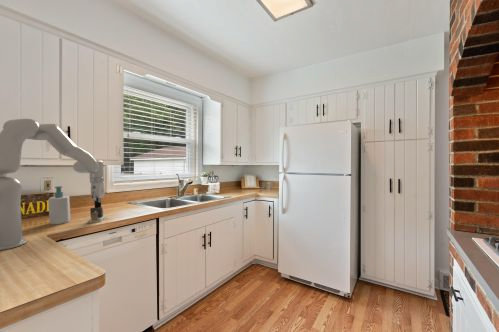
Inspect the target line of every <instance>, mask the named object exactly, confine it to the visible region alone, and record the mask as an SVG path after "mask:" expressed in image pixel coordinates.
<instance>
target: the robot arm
mask: <svg viewBox="0 0 499 332" xmlns="http://www.w3.org/2000/svg"><path fill="white" fill-rule="evenodd" d="M2 125H3V126H2V130H1V131H0V251H3V250H8V249H14V248H17V247H20V246H23V245H25V244H26V243H27V242H28V239H27V238H24V237H23V226H22V224H23V223H22V210H21V209H22V207H21V206H22V205H21V199H22V197H21V196H22V192H23V186H22V183H21V182H20V181H19V180H18V179H16V178H15V177H12V176H7V175H9V174H10V175H11V174H14V173H16V172H18V171H19V169H20V167H21V160H22V159H21V157H22V150H23V149H22V148H23V145H24V142H25V141H26V140H34V141H47V142H48V143H49V144H50V145H51V146H52V147H53V148H54V149H55V150H56V151H57V152H58V153H59V154H60V155H62V156H64V157H67V158H71V159H73V160H75V161H76V162H74V163H73V166H72V168H73V170H74V171H75V172H76V173H79V174H89V183H90V198H91V199H92V201H93V202H94V203H93V204H94V208H99V207H102V198H103V197H105V196H106V194H105V193H106V192H105V183H104V182H105V178H104V177H105V176H104V172H105V171H104V162H103V160H96V159H95V158H94V157H93V155H91V153H89V152H88V151H86V150H84V148H81V147H79V146H78V145H76V144H75V143H74V142H73V141H72V140H71V139H70V137H69V136H67V133H65V132H64V131H63V130H62V129H61V128H60V127H59V126H58V125H57V124H55V123H54V124H53V123H43V124H41V123H38V122H37V121H36V120H35V119H31V118H17V119H10V120H7V121H5V122H4V123H3V124H2Z"/></svg>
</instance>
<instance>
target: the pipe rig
mask: <svg viewBox="0 0 499 332" xmlns="http://www.w3.org/2000/svg"><path fill="white" fill-rule="evenodd" d="M102 212H103V213H104V209H103V208H102ZM105 219H107V216H106V215H103V217H102V218H98V211H95V212H94V213H90V219H89V220H87V223H88V224H89V223H101V222H102V221H104V220H105Z"/></svg>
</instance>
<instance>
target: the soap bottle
mask: <svg viewBox="0 0 499 332" xmlns="http://www.w3.org/2000/svg"><path fill="white" fill-rule="evenodd" d="M62 188H63V186H62V185H61V186H60V185H58V186H55V187H54V189H55V190H56V192H54V196H51V197H49V198H48V200H47V201H48V216H49V217H48V218H49V221H48V222H49V225H61V224H67V223H69V222H70V221H71V203H70V196H69V195H64V192H63V191H62Z"/></svg>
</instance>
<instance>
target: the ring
mask: <svg viewBox="0 0 499 332" xmlns="http://www.w3.org/2000/svg"><path fill="white" fill-rule="evenodd" d="M102 209H103V207H102V206H101V207H99V208H95V207H91V208H90V214H91V213H94V212H95V211H98V218H102V217H103V216H104V211H103V212H102Z"/></svg>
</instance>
